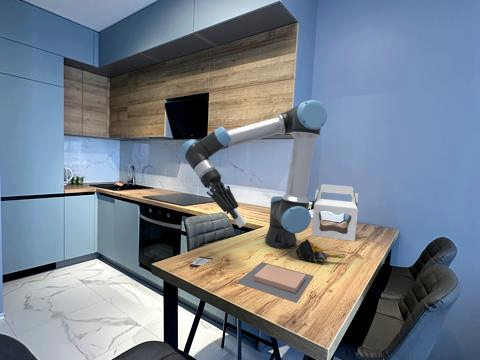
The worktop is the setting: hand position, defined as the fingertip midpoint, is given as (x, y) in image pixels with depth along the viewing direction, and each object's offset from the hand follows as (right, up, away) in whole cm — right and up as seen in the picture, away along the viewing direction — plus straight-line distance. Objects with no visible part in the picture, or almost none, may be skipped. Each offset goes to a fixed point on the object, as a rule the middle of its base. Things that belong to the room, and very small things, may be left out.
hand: (243, 225), depth 92 cm
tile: (+6, -16, -4) cm, 17 cm away
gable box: (+51, -15, +50) cm, 73 cm away
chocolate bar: (-10, -16, +4) cm, 19 cm away
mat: (+11, -18, -6) cm, 22 cm away
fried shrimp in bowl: (+31, -17, +12) cm, 38 cm away
